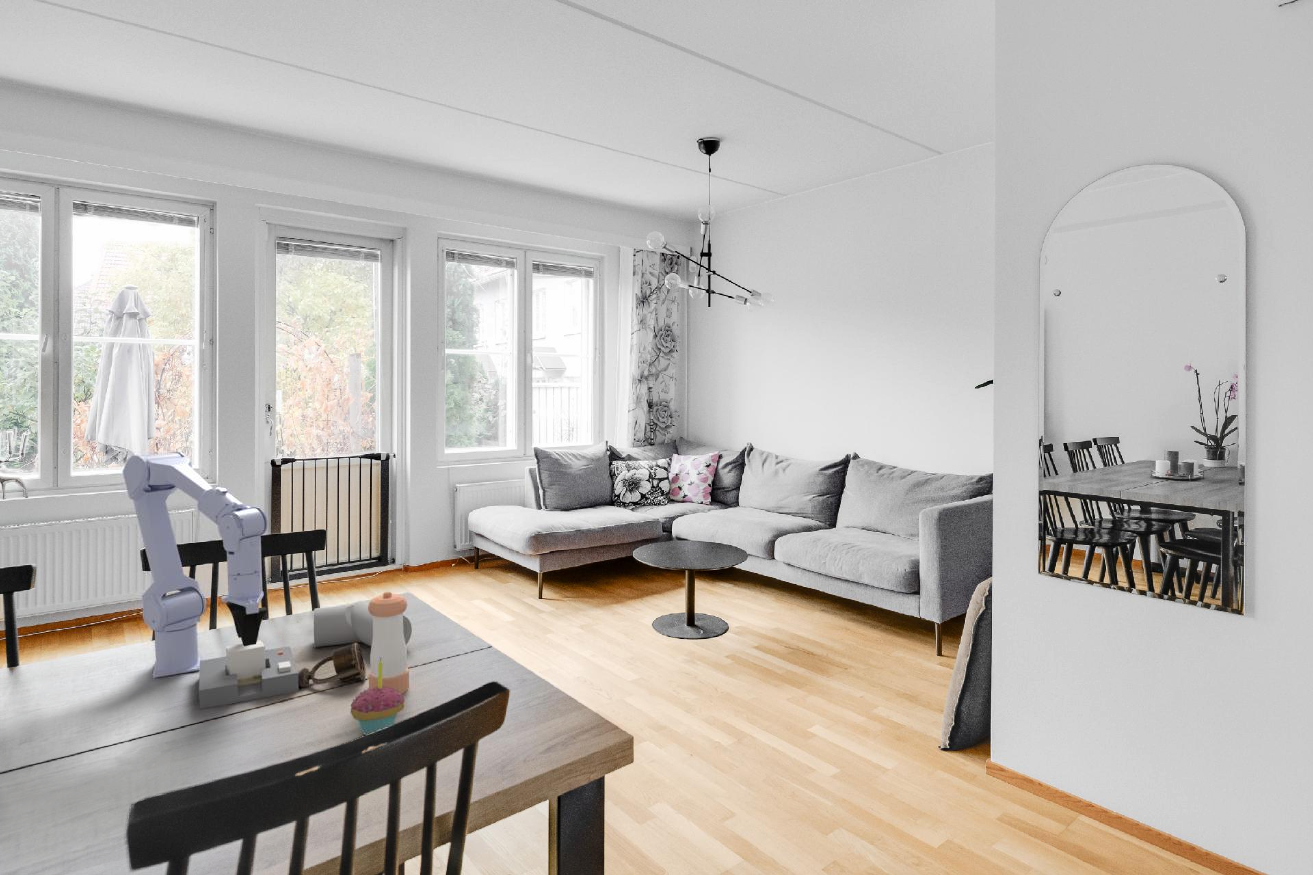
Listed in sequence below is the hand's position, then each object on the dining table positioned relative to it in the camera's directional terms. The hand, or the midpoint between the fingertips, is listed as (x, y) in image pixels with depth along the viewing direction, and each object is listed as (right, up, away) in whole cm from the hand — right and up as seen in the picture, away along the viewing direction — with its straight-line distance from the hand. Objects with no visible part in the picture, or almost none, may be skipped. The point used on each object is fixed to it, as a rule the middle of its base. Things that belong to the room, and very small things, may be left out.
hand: (247, 640), depth 142 cm
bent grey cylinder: (+14, -8, +22) cm, 27 cm away
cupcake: (+32, -11, -17) cm, 38 cm away
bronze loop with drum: (+15, -9, +3) cm, 18 cm away
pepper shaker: (+28, -9, -1) cm, 29 cm away
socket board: (0, -9, +1) cm, 9 cm away
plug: (0, -8, 0) cm, 8 cm away
